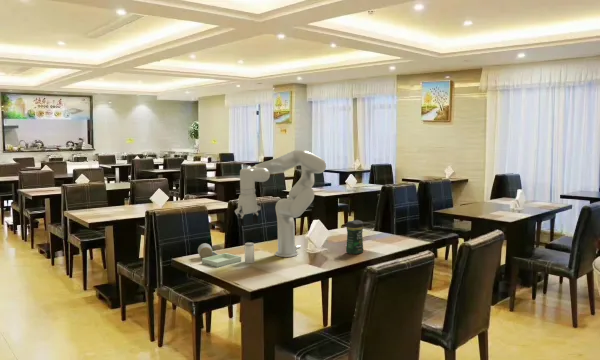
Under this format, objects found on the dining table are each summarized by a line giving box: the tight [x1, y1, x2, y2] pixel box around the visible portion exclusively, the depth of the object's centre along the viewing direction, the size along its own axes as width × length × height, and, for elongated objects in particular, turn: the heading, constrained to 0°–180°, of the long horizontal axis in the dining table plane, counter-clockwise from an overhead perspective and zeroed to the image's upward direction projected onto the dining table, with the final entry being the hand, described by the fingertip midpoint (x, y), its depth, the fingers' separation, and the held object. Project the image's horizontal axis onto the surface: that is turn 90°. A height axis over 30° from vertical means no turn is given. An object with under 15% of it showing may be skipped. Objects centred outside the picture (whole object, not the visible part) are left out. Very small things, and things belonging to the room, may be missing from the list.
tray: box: [201, 252, 242, 268], centre depth 258 cm, size 16×13×3 cm
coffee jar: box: [345, 219, 364, 255], centre depth 274 cm, size 10×8×19 cm
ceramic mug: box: [197, 242, 219, 259], centre depth 268 cm, size 11×8×8 cm
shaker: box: [244, 242, 255, 264], centre depth 257 cm, size 5×5×10 cm
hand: (248, 224), depth 256 cm, fingers open, 9 cm apart
